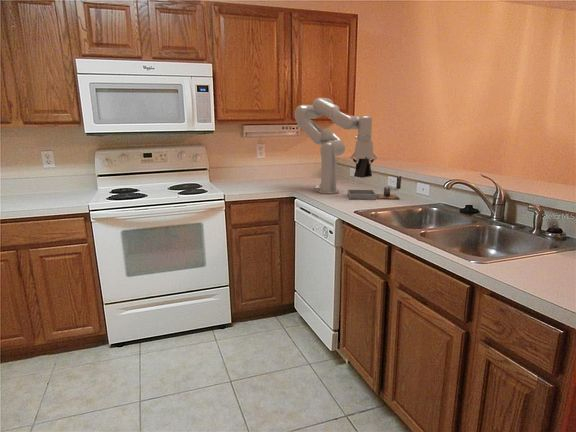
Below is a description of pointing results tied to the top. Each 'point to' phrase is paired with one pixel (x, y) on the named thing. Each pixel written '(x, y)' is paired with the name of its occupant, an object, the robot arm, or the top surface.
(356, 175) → the door stopper
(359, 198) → the tray
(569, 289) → the top surface
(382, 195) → the crank base
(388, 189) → the crank
